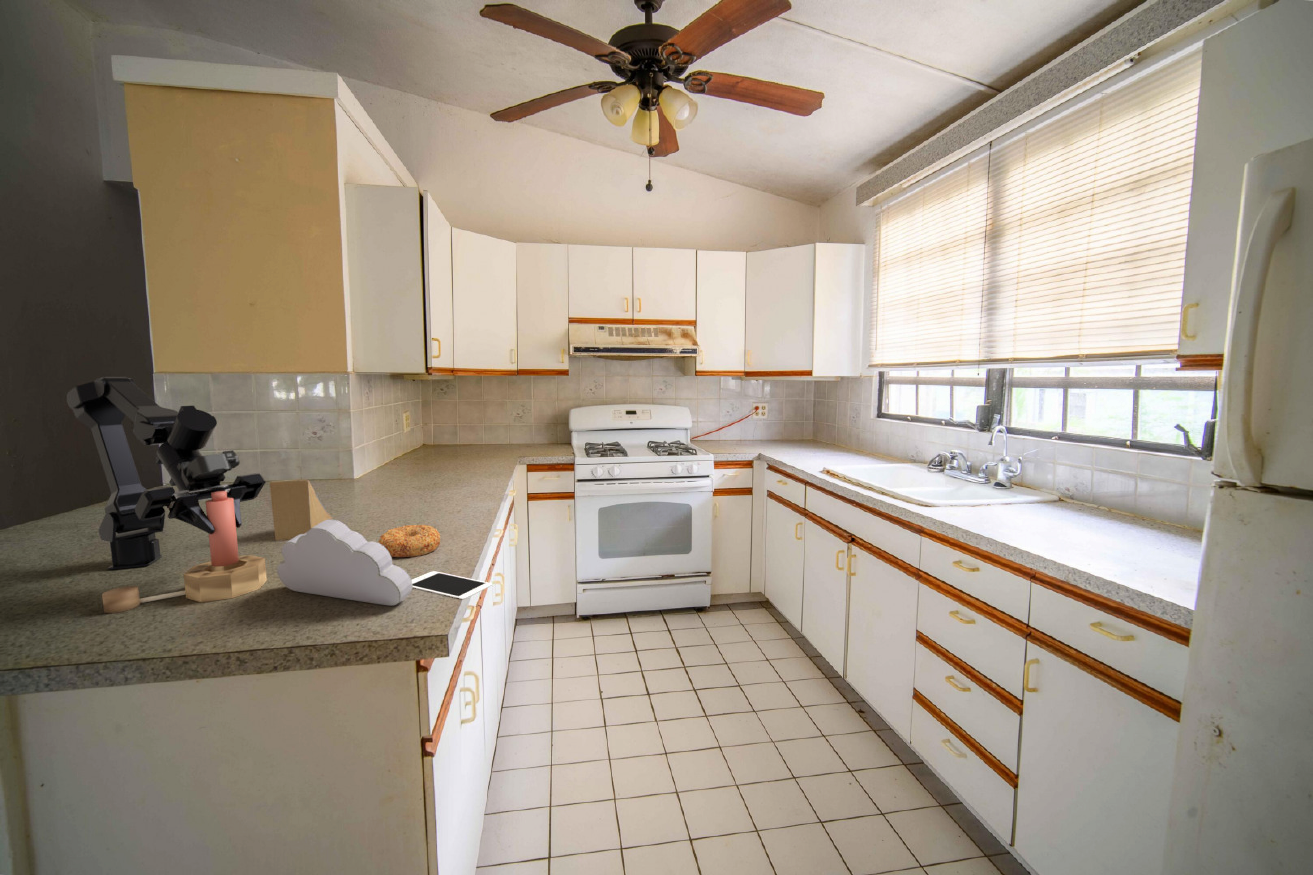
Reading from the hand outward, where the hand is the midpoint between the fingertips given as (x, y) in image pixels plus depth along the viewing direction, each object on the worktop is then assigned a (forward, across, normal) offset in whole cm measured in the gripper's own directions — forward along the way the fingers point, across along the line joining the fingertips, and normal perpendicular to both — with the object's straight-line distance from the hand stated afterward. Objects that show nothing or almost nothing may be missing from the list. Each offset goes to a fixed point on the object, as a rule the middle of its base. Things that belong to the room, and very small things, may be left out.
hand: (226, 529), depth 98 cm
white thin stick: (+4, -7, +13) cm, 15 cm away
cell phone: (+34, +18, -16) cm, 41 cm away
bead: (+7, 0, +9) cm, 12 cm away
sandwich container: (-9, +31, +27) cm, 42 cm away
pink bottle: (+4, 0, +6) cm, 7 cm away
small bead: (+2, -12, +14) cm, 19 cm away
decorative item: (+24, +7, -7) cm, 26 cm away
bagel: (+17, +30, 0) cm, 35 cm away
